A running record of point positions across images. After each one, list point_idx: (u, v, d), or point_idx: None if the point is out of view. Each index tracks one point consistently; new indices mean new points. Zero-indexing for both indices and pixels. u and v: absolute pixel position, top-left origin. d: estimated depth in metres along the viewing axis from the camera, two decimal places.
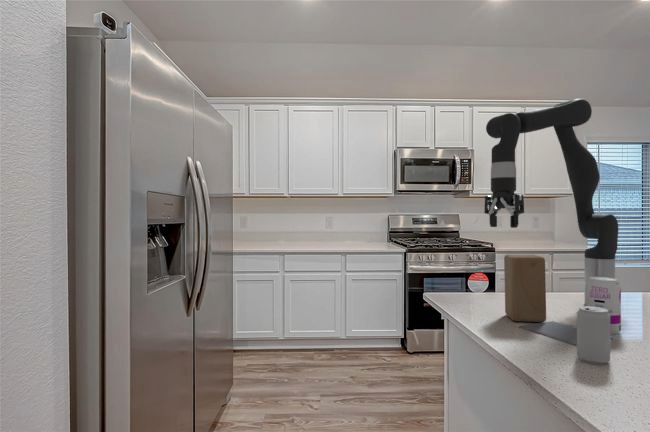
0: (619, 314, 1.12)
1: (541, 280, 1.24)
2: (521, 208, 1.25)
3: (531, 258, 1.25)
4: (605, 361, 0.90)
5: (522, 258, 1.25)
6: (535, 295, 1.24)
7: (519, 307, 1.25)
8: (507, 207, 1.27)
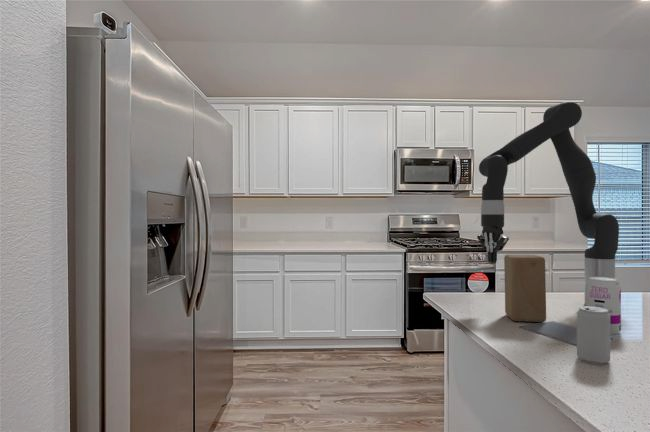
0: (619, 314, 1.12)
1: (541, 280, 1.24)
2: (501, 247, 1.39)
3: (531, 258, 1.25)
4: (605, 361, 0.90)
5: (522, 258, 1.25)
6: (535, 295, 1.24)
7: (519, 307, 1.25)
8: (490, 243, 1.40)
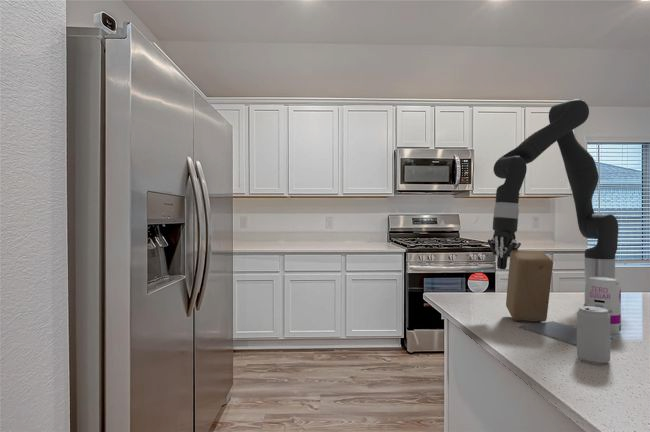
0: (619, 314, 1.12)
1: (546, 283, 1.21)
2: None
3: (539, 261, 1.20)
4: (605, 361, 0.90)
5: (529, 260, 1.20)
6: (538, 297, 1.22)
7: (521, 307, 1.24)
8: (501, 248, 1.33)
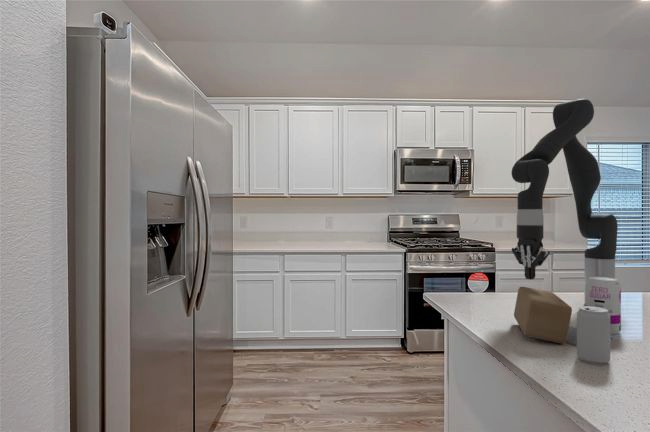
0: (619, 314, 1.12)
1: None
2: (540, 261, 1.24)
3: (548, 340, 1.04)
4: (605, 361, 0.90)
5: (537, 337, 1.05)
6: None
7: None
8: (528, 258, 1.26)
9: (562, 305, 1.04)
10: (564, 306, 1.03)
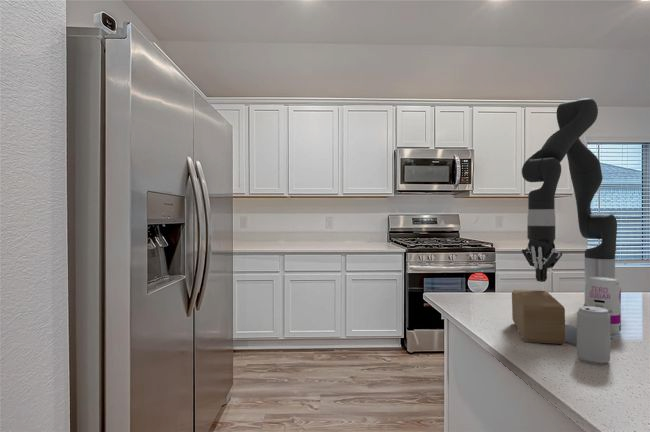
0: (619, 314, 1.12)
1: None
2: (552, 263, 1.21)
3: (548, 342, 1.04)
4: (605, 361, 0.90)
5: (537, 342, 1.05)
6: None
7: None
8: (540, 259, 1.22)
9: (554, 306, 1.04)
10: (556, 306, 1.04)
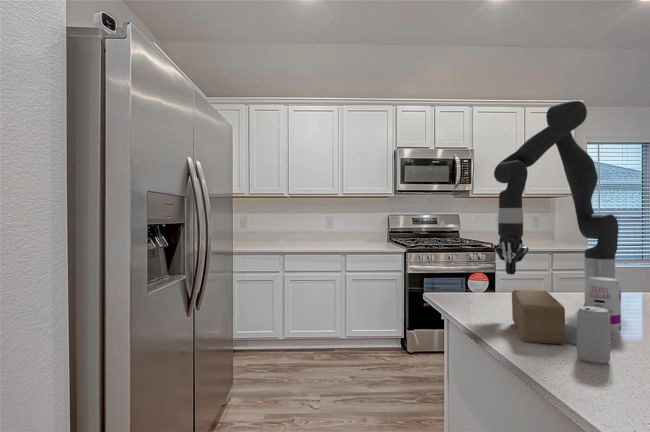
0: (619, 314, 1.12)
1: None
2: (520, 257, 1.32)
3: (548, 342, 1.04)
4: (605, 361, 0.90)
5: (537, 342, 1.05)
6: None
7: None
8: (509, 254, 1.33)
9: (554, 306, 1.04)
10: (556, 306, 1.04)
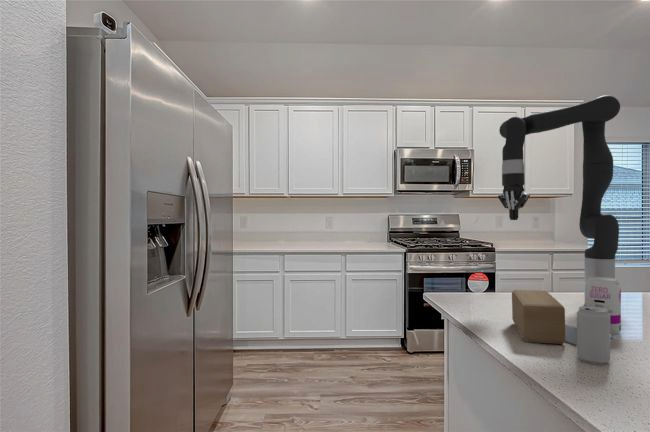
0: (619, 314, 1.12)
1: None
2: (522, 204, 1.47)
3: (548, 342, 1.04)
4: (605, 361, 0.90)
5: (537, 342, 1.05)
6: None
7: None
8: (512, 201, 1.48)
9: (554, 306, 1.04)
10: (556, 306, 1.04)
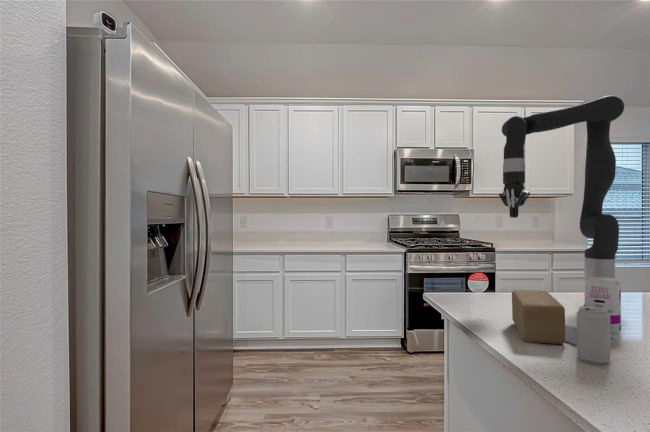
0: (619, 314, 1.12)
1: None
2: (522, 202, 1.49)
3: (548, 342, 1.04)
4: (605, 361, 0.90)
5: (537, 342, 1.05)
6: None
7: None
8: (512, 199, 1.50)
9: (554, 306, 1.04)
10: (556, 306, 1.04)
